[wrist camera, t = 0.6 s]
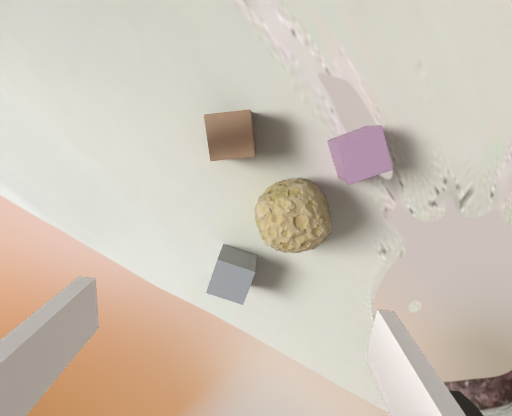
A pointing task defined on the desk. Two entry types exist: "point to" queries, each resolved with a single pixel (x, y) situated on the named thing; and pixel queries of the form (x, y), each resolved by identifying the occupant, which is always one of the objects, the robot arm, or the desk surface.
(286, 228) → the decorative object
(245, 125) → the walnut cube
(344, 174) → the plum cube
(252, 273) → the slate cube
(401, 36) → the desk surface
